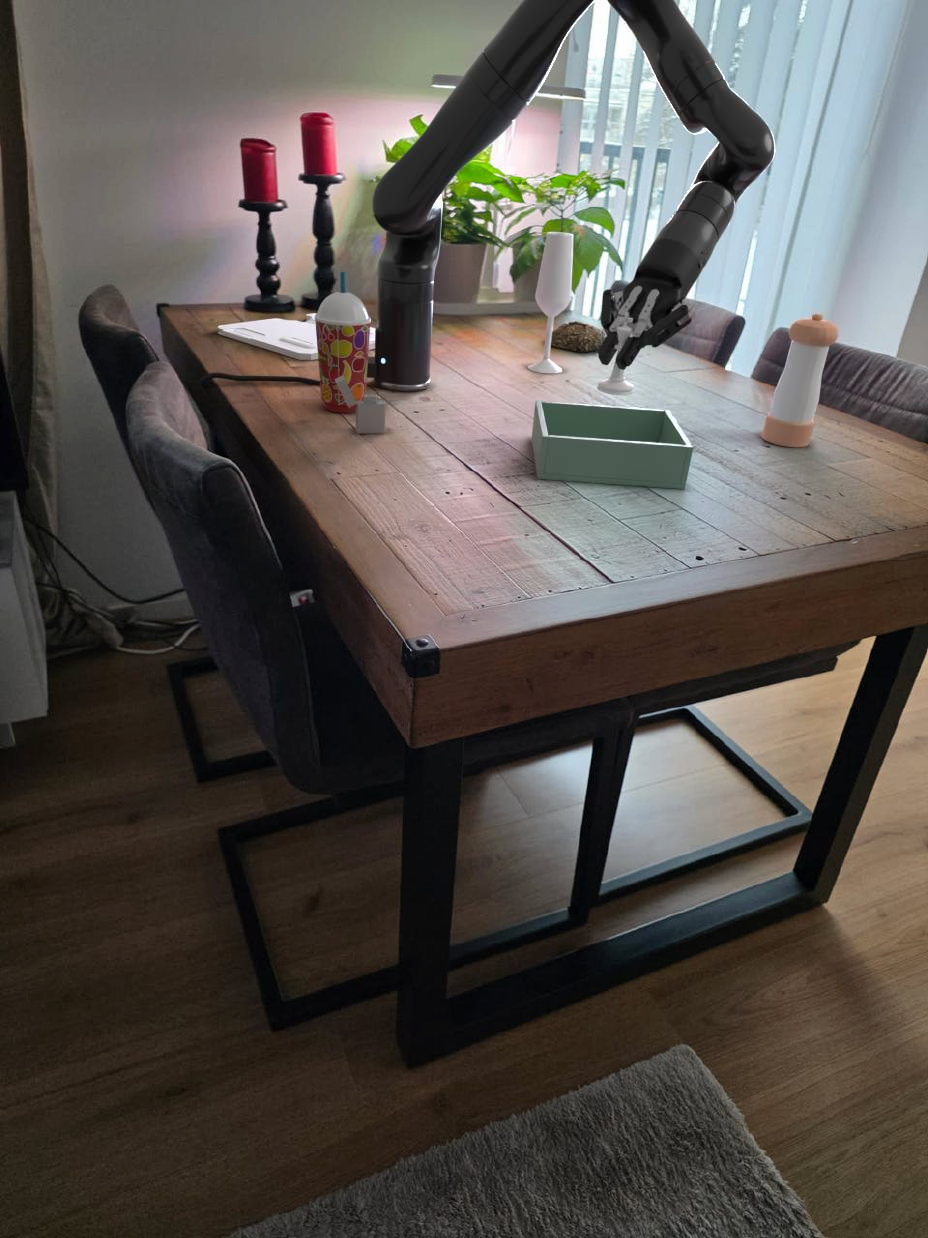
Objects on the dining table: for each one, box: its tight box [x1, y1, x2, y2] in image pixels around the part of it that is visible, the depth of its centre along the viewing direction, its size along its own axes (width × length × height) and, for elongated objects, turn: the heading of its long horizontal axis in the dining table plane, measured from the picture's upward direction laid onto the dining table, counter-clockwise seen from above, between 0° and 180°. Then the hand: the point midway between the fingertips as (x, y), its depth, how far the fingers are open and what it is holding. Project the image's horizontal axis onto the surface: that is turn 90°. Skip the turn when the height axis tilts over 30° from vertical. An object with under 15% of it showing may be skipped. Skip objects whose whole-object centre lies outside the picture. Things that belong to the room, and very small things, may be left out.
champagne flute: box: [527, 231, 574, 374], centre depth 159 cm, size 7×7×24 cm
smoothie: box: [315, 271, 372, 414], centre depth 129 cm, size 8×8×20 cm
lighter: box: [335, 375, 387, 435], centre depth 122 cm, size 7×2×8 cm, turn 104°
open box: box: [531, 400, 694, 490], centre depth 118 cm, size 20×17×6 cm
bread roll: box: [551, 320, 607, 353], centre depth 184 cm, size 13×12×5 cm
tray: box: [217, 312, 376, 361], centre depth 174 cm, size 28×28×2 cm
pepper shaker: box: [761, 313, 839, 448], centre depth 130 cm, size 7×7×19 cm
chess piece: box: [596, 312, 635, 396], centre depth 112 cm, size 5×5×10 cm
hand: (611, 362), depth 111 cm, fingers closed on chess piece
